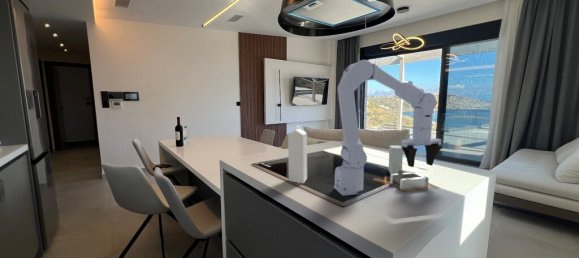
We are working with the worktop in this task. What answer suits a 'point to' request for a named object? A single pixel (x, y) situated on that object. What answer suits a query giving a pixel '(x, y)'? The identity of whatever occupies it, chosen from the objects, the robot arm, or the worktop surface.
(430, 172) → the worktop surface
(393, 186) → the stand
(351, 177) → the robot arm
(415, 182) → the c link
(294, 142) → the milk
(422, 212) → the worktop surface
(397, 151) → the skincare box
